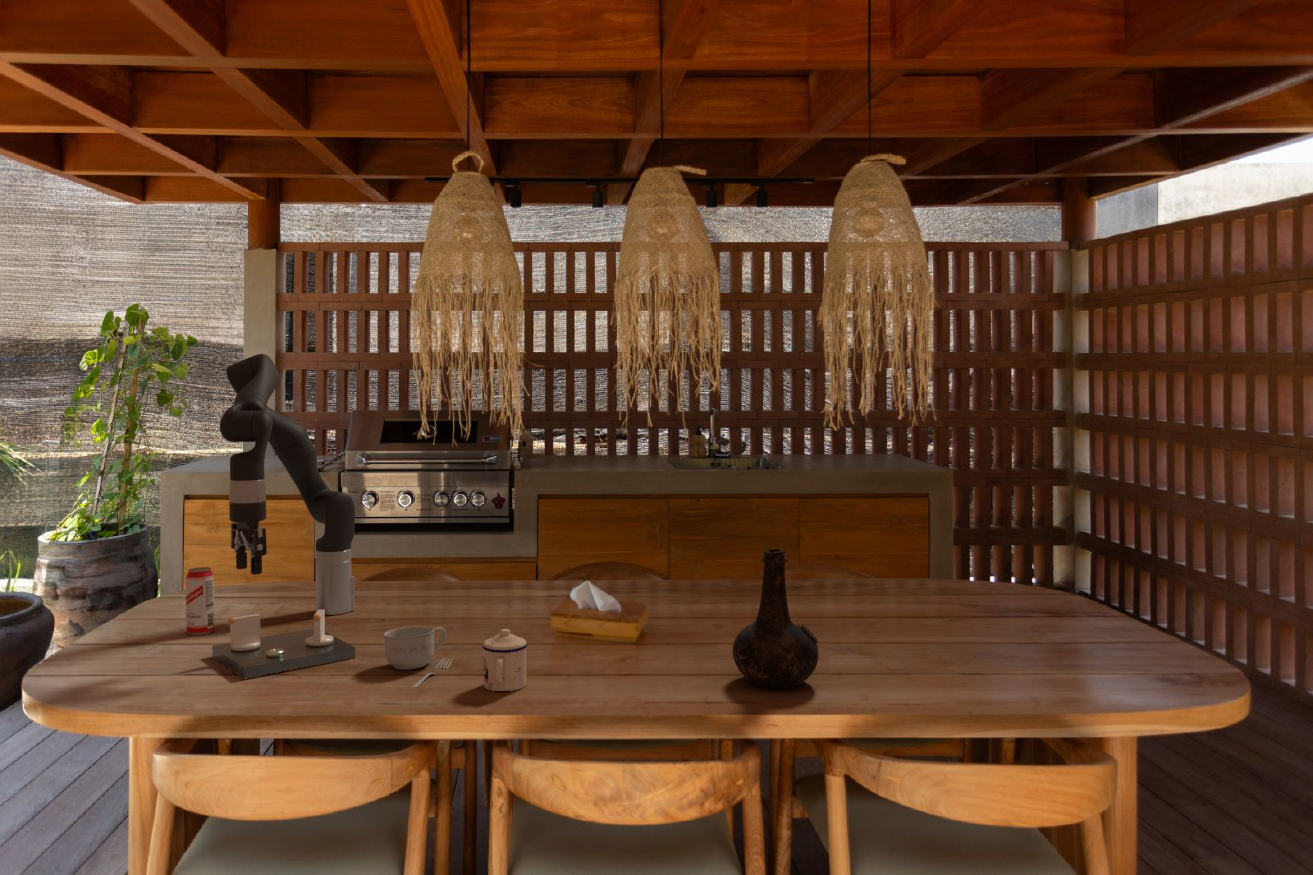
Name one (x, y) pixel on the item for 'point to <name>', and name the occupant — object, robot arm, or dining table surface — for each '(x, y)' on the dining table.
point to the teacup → (412, 646)
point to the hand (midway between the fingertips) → (248, 571)
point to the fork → (433, 673)
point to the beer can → (200, 601)
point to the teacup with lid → (504, 662)
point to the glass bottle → (775, 635)
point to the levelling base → (281, 654)
